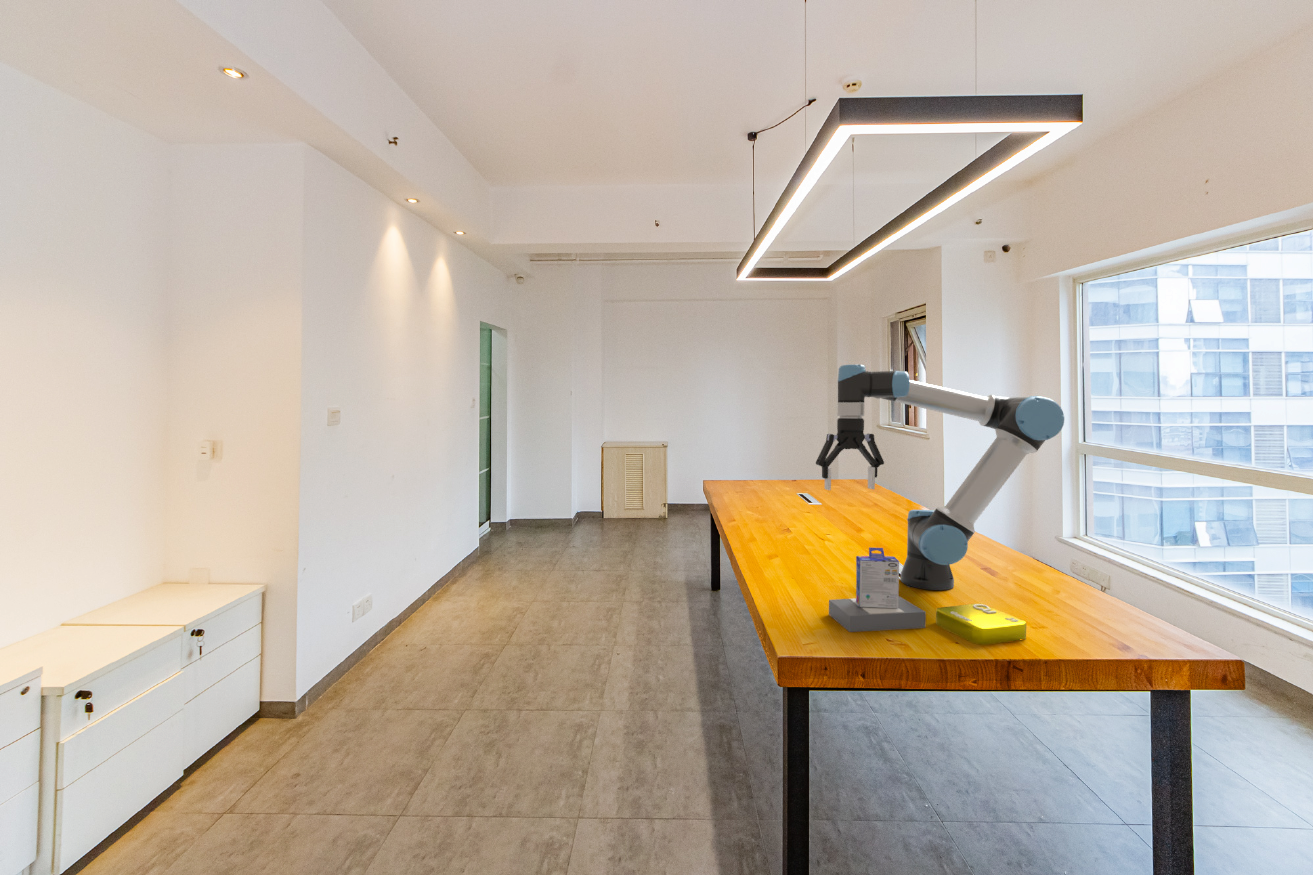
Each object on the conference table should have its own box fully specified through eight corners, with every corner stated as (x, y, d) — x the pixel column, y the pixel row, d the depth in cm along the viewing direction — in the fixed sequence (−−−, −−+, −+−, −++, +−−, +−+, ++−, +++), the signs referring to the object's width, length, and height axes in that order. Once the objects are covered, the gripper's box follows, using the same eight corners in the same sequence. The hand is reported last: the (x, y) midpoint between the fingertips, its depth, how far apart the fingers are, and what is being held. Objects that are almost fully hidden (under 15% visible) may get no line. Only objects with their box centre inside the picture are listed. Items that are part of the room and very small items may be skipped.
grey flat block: (899, 610, 157) (899, 595, 157) (925, 627, 146) (925, 611, 145) (828, 614, 155) (829, 599, 155) (849, 631, 143) (849, 615, 143)
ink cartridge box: (893, 601, 152) (894, 547, 151) (899, 609, 147) (901, 552, 146) (854, 600, 153) (855, 546, 153) (859, 607, 148) (860, 551, 147)
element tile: (932, 624, 149) (932, 605, 149) (980, 618, 153) (980, 600, 153) (978, 647, 135) (978, 627, 134) (1030, 640, 139) (1030, 620, 138)
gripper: (883, 417, 177) (882, 486, 178) (805, 417, 174) (804, 488, 175) (897, 417, 170) (895, 490, 171) (815, 417, 166) (814, 491, 167)
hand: (849, 489), depth 173 cm, fingers open, 13 cm apart
